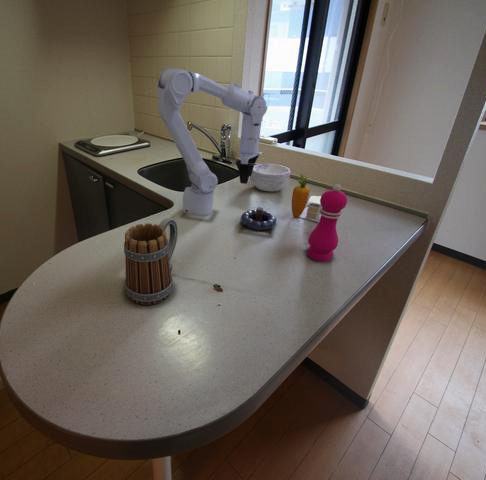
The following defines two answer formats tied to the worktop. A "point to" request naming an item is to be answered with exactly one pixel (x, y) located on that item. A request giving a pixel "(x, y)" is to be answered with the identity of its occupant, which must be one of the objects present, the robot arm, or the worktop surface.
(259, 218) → the post
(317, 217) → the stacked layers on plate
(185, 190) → the robot arm
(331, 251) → the pepper mill
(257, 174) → the paper bowls
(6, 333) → the worktop surface
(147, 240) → the mug
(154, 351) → the worktop surface
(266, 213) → the ring
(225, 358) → the worktop surface
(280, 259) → the worktop surface
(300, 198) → the carrot
